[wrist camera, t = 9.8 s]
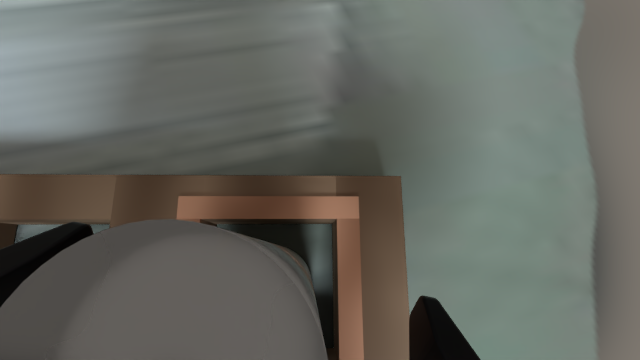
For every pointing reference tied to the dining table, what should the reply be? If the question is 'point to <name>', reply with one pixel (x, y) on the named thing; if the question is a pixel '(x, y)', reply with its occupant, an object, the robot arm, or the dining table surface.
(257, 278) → the peg
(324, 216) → the brown flat block
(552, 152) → the dining table surface
